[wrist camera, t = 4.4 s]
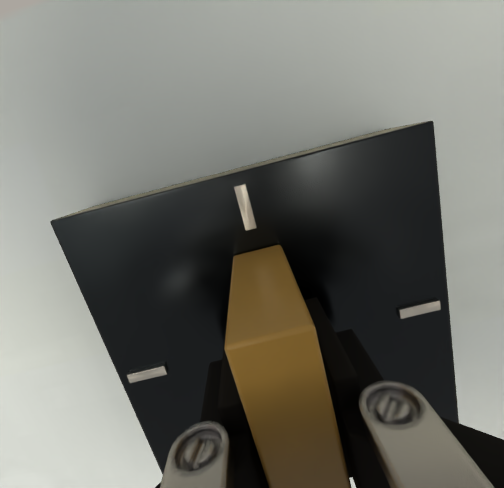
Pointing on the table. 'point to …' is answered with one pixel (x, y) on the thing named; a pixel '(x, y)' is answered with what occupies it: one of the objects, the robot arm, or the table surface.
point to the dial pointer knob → (282, 375)
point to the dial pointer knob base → (297, 254)
